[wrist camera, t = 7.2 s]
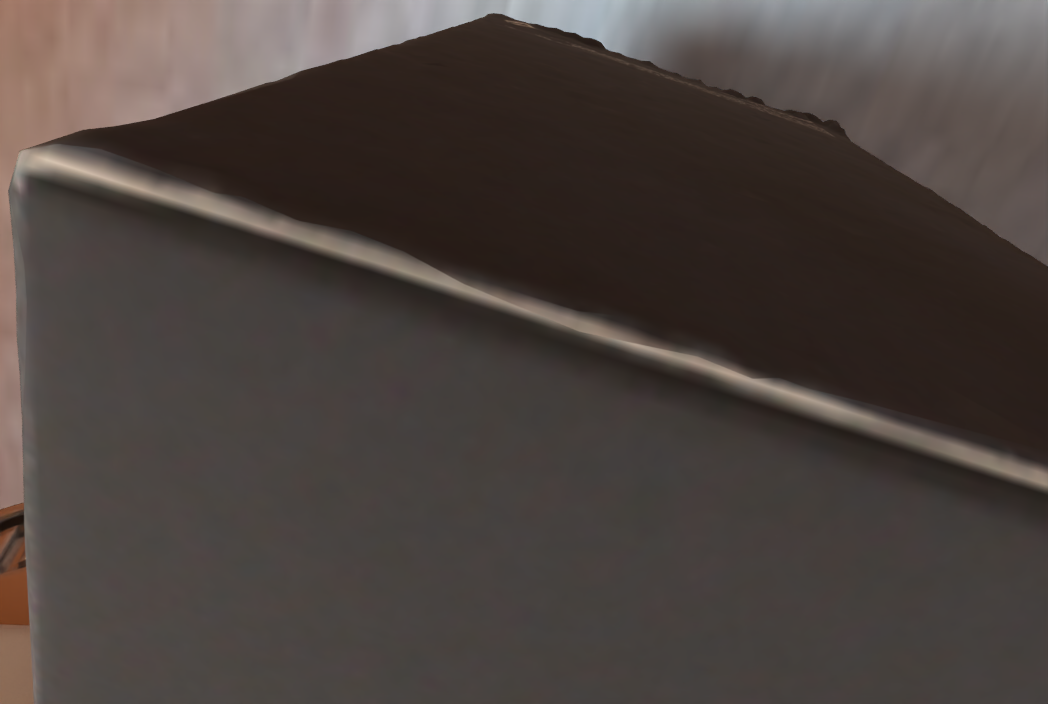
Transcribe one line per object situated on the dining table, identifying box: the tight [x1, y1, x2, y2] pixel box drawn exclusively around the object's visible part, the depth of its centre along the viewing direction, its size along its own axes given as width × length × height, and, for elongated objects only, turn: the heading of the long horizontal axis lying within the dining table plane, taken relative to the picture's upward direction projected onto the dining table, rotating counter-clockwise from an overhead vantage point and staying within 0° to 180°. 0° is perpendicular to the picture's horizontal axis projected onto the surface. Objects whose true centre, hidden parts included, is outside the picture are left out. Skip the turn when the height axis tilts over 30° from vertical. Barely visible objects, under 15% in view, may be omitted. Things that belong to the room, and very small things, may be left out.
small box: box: [8, 13, 1048, 704], centre depth 9 cm, size 11×6×10 cm, turn 163°
